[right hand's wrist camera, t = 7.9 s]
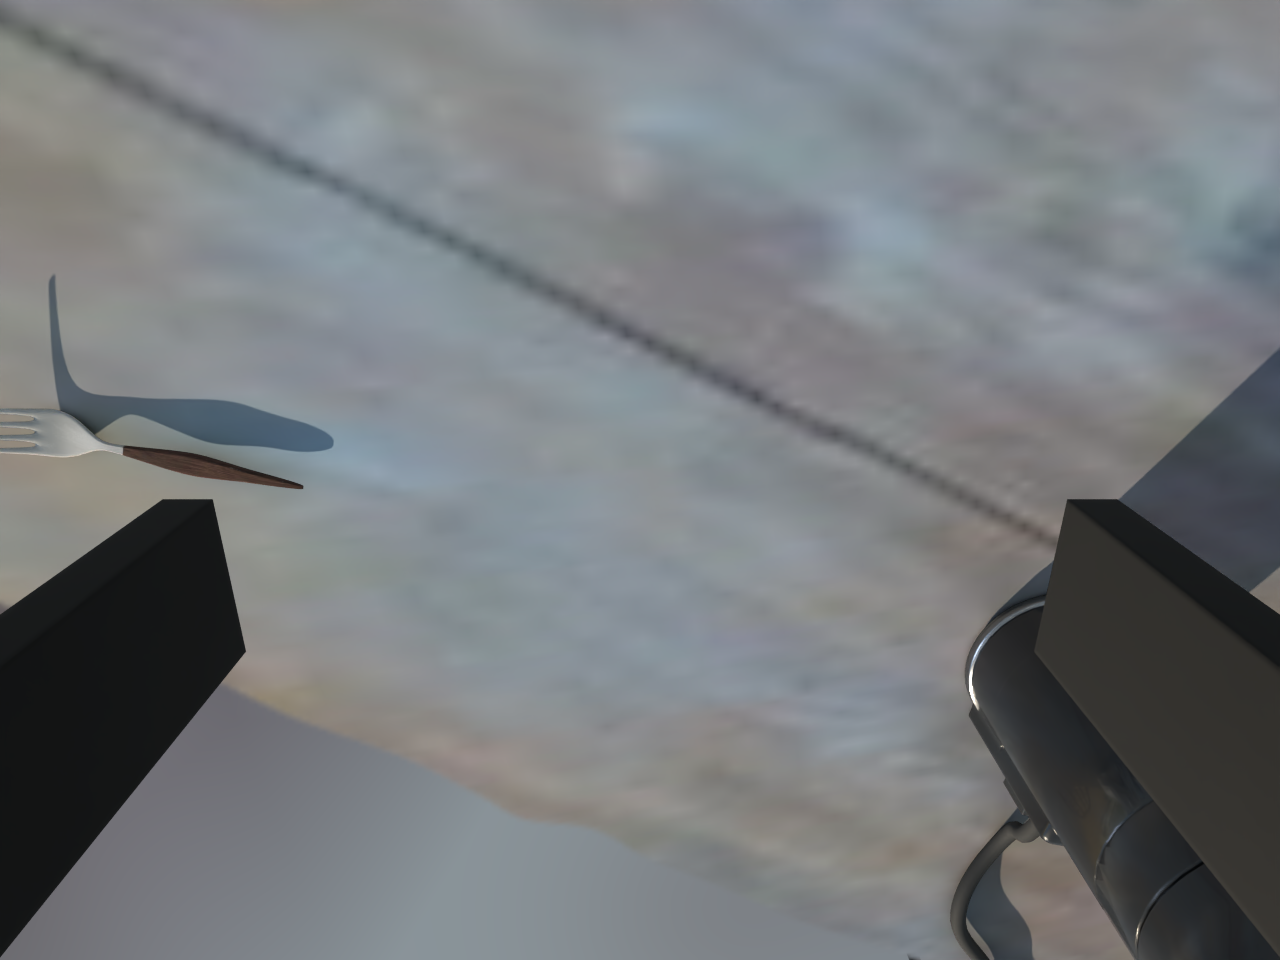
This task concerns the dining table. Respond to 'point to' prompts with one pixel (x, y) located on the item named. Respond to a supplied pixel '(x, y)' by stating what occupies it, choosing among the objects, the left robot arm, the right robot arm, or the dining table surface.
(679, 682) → the dining table surface
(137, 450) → the fork
